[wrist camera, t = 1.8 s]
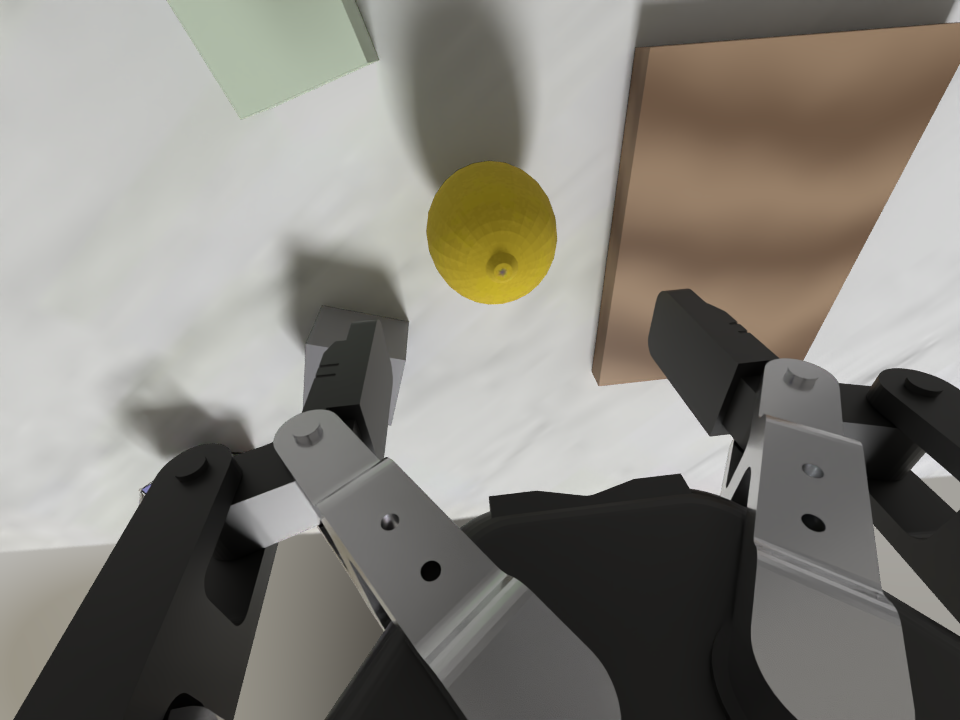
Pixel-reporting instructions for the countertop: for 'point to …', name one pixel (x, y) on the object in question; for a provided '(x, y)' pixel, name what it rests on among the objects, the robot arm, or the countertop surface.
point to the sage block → (275, 46)
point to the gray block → (336, 327)
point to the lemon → (491, 232)
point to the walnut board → (760, 177)
